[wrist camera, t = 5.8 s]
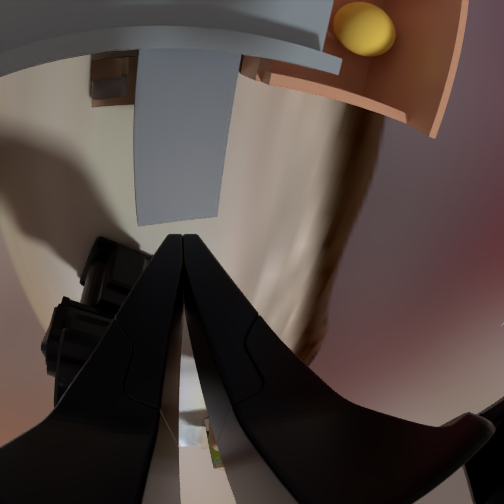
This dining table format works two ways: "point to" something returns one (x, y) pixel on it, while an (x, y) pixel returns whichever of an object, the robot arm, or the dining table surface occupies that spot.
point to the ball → (364, 29)
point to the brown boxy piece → (386, 64)
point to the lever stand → (113, 81)
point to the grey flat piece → (172, 76)
